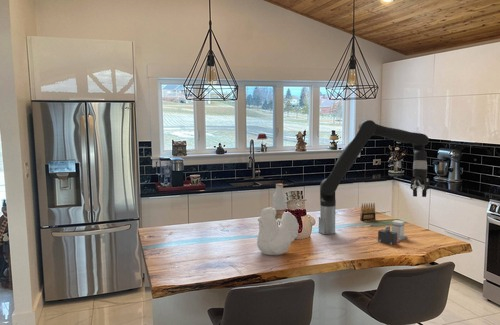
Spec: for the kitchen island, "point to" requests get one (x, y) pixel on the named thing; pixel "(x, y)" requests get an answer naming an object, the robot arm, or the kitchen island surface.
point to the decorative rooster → (276, 232)
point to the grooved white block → (398, 228)
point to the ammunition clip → (367, 212)
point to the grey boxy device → (389, 236)
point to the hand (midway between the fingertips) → (419, 196)
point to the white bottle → (279, 201)
